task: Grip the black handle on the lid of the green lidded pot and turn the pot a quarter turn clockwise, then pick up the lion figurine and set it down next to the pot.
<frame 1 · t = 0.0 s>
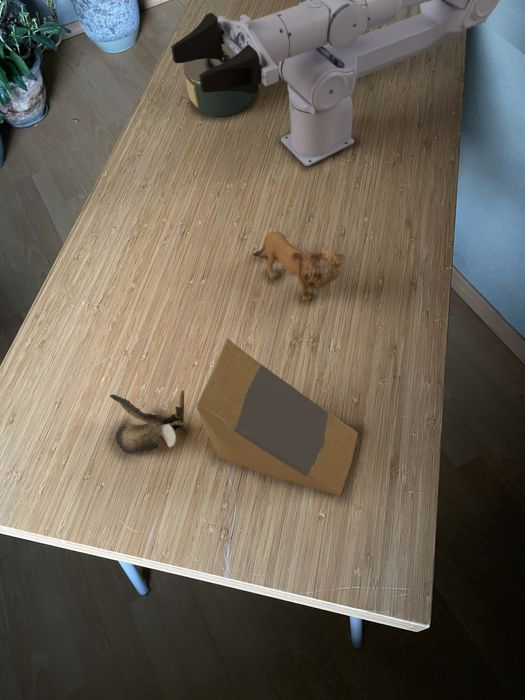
hand: (186, 69, 75), 22 cm above the table, tool horizontal, fingers open, 7 cm apart
beverage bottle: (325, 75, 107), on the table
sandwich container: (288, 446, 71), on the table
green lidded pot: (218, 71, 101), point 5 cm above the table, hinge at 0.0°
lion figurine: (298, 279, 84), on the table
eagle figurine: (153, 431, 74), on the table
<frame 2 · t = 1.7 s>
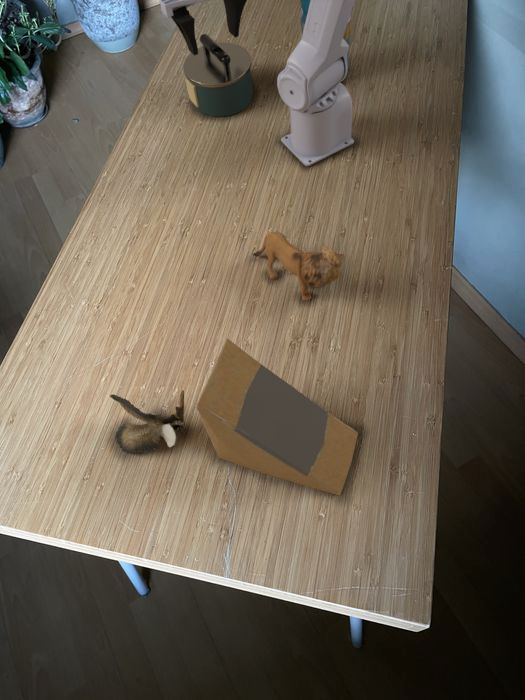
hand: (213, 43, 97), 10 cm above the table, tool pointing down, fingers open, 7 cm apart
nothing on the table moved.
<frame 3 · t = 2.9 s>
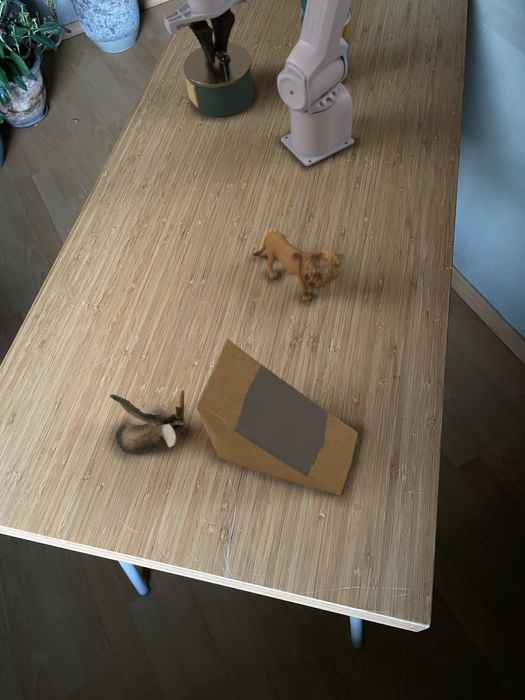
hand: (216, 58, 99), 8 cm above the table, tool pointing down, fingers closed on green lidded pot, 2 cm apart
green lidded pot: (218, 71, 101), point 5 cm above the table, hinge at 0.0°, touching gripper
everything else where it was.
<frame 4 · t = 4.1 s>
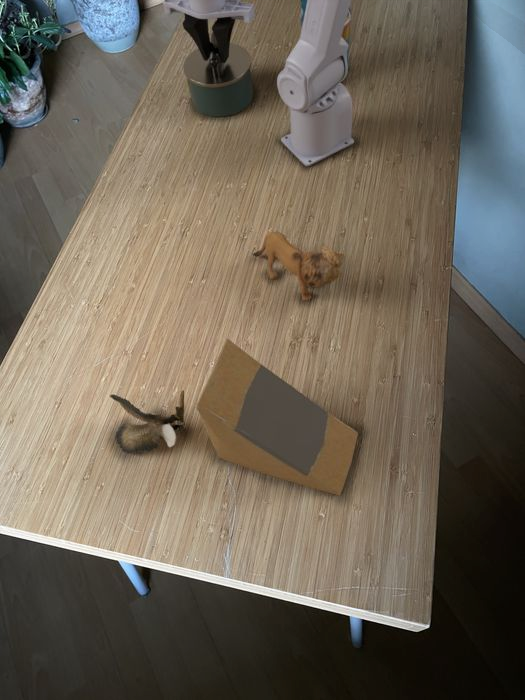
hand: (216, 58, 99), 8 cm above the table, tool pointing down, fingers closed on green lidded pot, 2 cm apart
green lidded pot: (218, 71, 101), point 5 cm above the table, hinge at -31.3°, touching gripper
everything else where it was.
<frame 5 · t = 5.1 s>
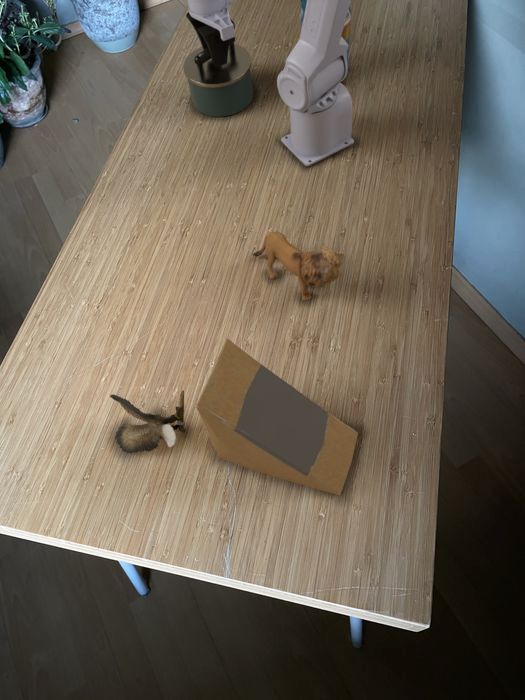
hand: (216, 59, 99), 7 cm above the table, tool pointing down, fingers open, 3 cm apart
green lidded pot: (218, 71, 101), point 5 cm above the table, hinge at -76.1°
everything else where it was.
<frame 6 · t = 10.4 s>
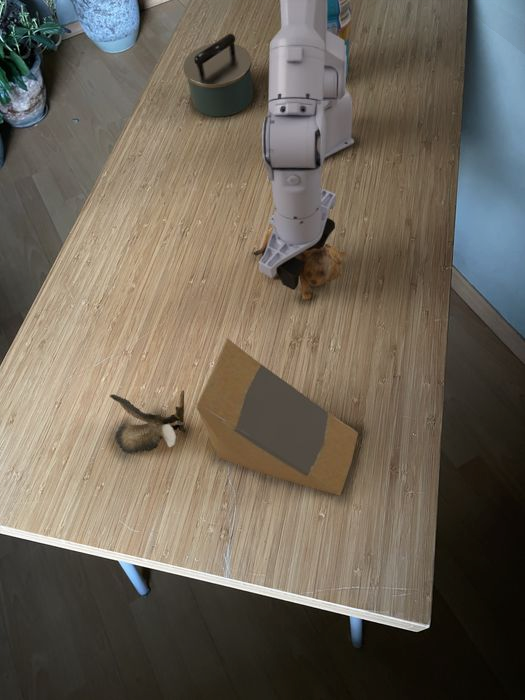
hand: (300, 272, 82), 2 cm above the table, tool pointing down, fingers closed on lion figurine, 5 cm apart
lion figurine: (298, 279, 84), on the table, touching gripper
everything else where it was.
when the fingers open (2 cm above the table, at t = 15.8 s): lion figurine stays where it is, on the table.
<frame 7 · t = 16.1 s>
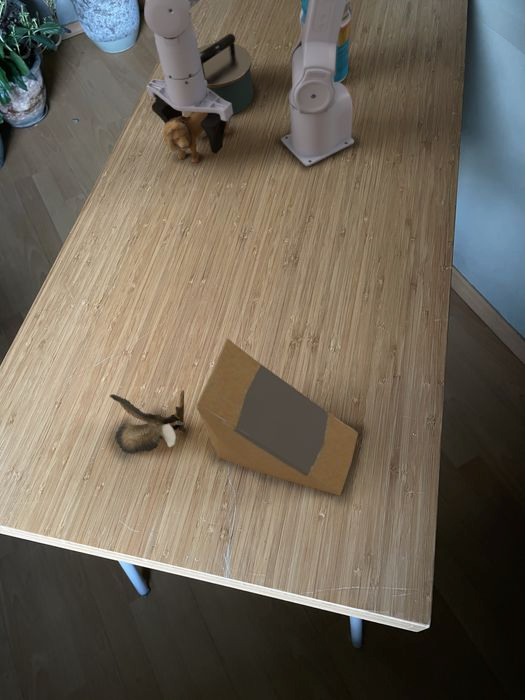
hand: (198, 143, 97), 2 cm above the table, tool pointing down, fingers open, 7 cm apart
lion figurine: (201, 151, 99), on the table
everything else where it was.
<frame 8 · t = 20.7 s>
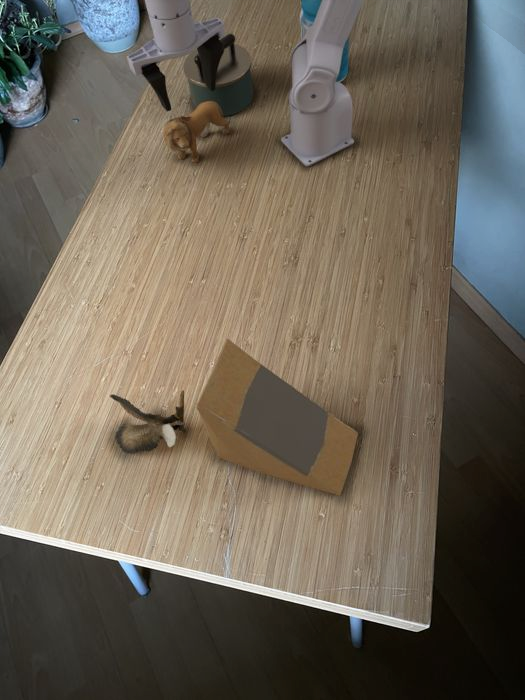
hand: (188, 97, 90), 10 cm above the table, tool pointing down, fingers open, 7 cm apart
nothing on the table moved.
at the end: green lidded pot at -76° (first picture: +0°); lion figurine 13.8 cm from the green lidded pot (horizontally); lion figurine tilted 0° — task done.
